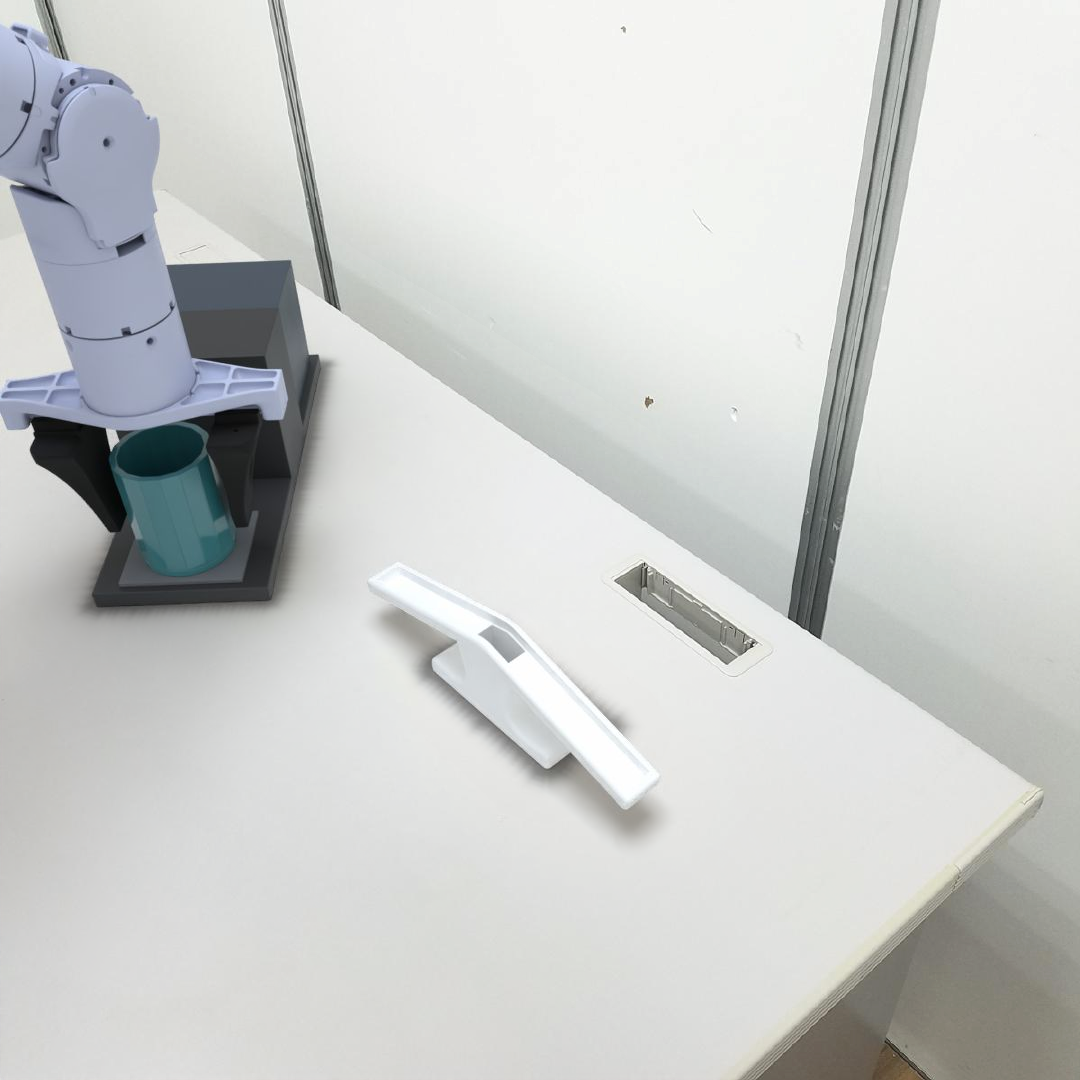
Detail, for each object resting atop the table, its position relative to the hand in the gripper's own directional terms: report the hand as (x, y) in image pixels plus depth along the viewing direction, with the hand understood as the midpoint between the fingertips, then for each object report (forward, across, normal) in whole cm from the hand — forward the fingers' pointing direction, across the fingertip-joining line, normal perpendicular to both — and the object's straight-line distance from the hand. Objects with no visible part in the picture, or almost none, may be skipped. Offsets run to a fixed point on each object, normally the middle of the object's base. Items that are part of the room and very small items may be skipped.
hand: (181, 518), depth 65 cm
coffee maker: (+3, 0, -9) cm, 9 cm away
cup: (+2, 0, 0) cm, 2 cm away
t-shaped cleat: (+4, -19, +11) cm, 22 cm away
